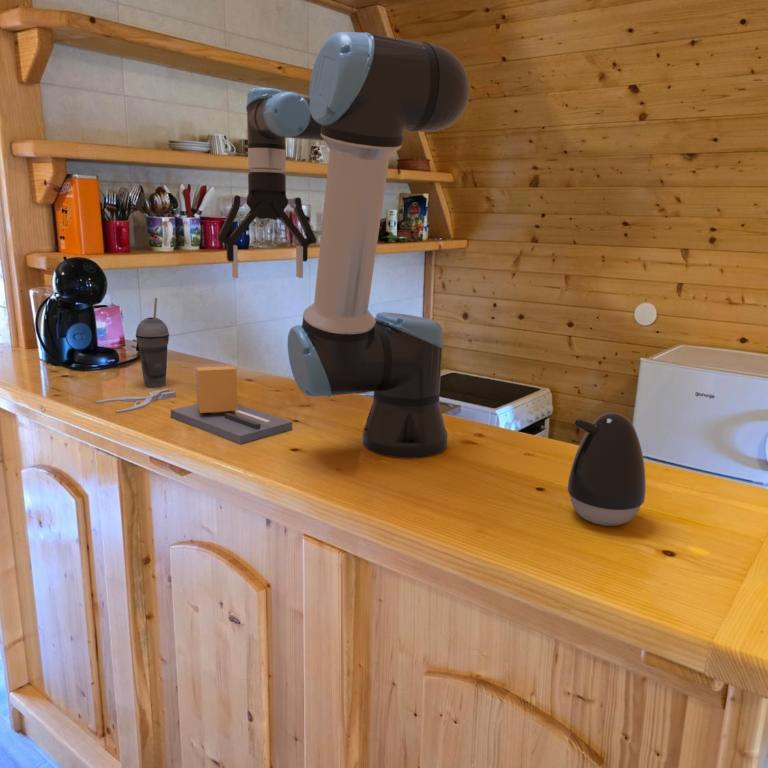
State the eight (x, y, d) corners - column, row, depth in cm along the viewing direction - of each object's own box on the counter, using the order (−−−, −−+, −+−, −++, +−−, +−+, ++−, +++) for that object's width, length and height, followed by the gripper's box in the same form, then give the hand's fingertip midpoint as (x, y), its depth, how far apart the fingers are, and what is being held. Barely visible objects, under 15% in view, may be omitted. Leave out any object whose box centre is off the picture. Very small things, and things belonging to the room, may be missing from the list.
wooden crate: (233, 405, 139) (232, 365, 138) (237, 410, 132) (236, 369, 131) (197, 407, 137) (195, 367, 136) (200, 412, 130) (198, 370, 129)
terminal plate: (292, 429, 130) (292, 396, 128) (240, 444, 121) (239, 408, 120) (221, 405, 144) (220, 375, 142) (170, 417, 135) (169, 385, 134)
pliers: (94, 397, 143) (160, 385, 153) (94, 404, 143) (160, 392, 154) (116, 407, 136) (184, 394, 147) (117, 415, 137) (184, 401, 147)
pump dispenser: (554, 502, 101) (563, 402, 97) (623, 502, 102) (635, 403, 98) (577, 534, 91) (589, 424, 87) (654, 534, 92) (669, 425, 88)
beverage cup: (145, 380, 162) (140, 295, 157) (176, 381, 162) (172, 296, 157) (133, 388, 155) (127, 299, 150) (165, 389, 155) (161, 300, 150)
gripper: (321, 175, 148) (320, 275, 153) (201, 169, 139) (204, 275, 144) (331, 174, 141) (330, 278, 146) (206, 167, 132) (209, 279, 137)
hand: (267, 277), depth 145 cm, fingers open, 13 cm apart
